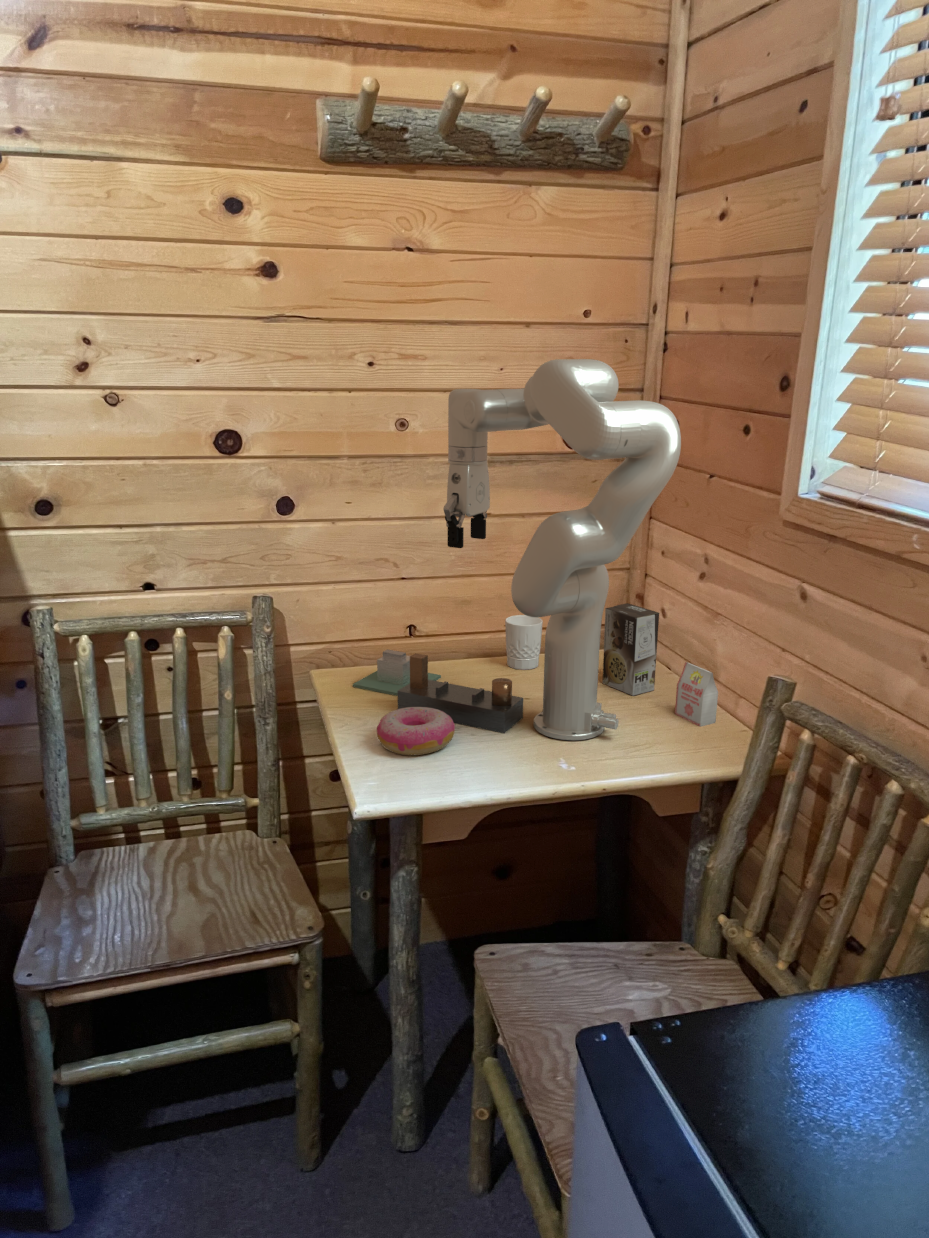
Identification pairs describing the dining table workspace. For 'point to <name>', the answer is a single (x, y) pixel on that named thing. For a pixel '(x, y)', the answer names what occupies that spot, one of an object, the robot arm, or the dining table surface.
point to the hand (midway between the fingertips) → (467, 542)
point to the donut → (415, 730)
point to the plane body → (462, 699)
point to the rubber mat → (385, 684)
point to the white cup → (523, 641)
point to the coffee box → (630, 648)
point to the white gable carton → (696, 695)
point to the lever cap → (394, 667)
